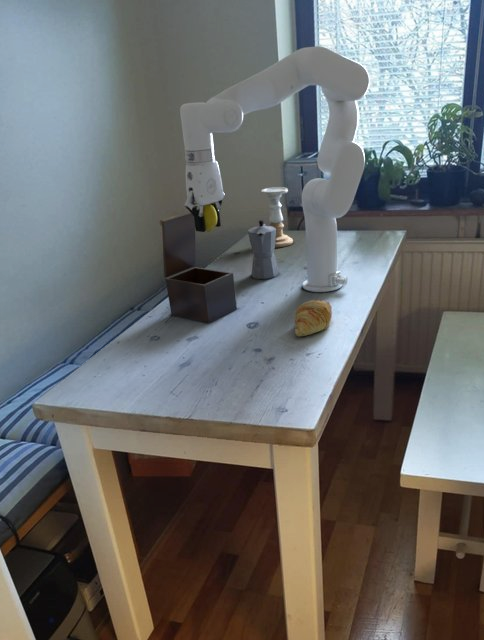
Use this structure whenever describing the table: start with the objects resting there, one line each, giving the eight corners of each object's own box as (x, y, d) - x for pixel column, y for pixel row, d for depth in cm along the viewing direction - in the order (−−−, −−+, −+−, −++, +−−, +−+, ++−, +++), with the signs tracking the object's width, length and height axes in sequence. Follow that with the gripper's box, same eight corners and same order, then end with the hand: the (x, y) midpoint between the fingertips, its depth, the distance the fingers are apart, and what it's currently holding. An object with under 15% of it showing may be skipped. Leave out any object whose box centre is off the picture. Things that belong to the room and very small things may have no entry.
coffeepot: (277, 280, 201) (274, 224, 191) (249, 281, 202) (244, 225, 192) (280, 266, 214) (277, 213, 204) (253, 268, 214) (249, 215, 205)
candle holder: (264, 240, 247) (260, 187, 236) (294, 239, 245) (292, 185, 234) (260, 248, 237) (255, 193, 226) (291, 247, 235) (288, 191, 224)
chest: (236, 309, 180) (233, 272, 174) (209, 323, 172) (204, 285, 166) (199, 301, 188) (194, 266, 182) (171, 314, 179) (165, 278, 174)
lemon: (221, 229, 169) (218, 199, 165) (213, 234, 165) (210, 203, 161) (204, 229, 171) (200, 199, 167) (195, 234, 167) (191, 203, 163)
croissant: (309, 353, 157) (321, 329, 152) (276, 333, 158) (288, 308, 153) (335, 322, 173) (348, 299, 168) (306, 304, 174) (317, 281, 169)
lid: (195, 212, 172) (182, 207, 174) (163, 221, 163) (150, 217, 165) (195, 265, 182) (183, 261, 184) (166, 277, 173) (153, 272, 175)
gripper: (188, 162, 150) (197, 237, 160) (232, 152, 162) (238, 223, 171) (166, 161, 154) (177, 234, 164) (211, 152, 166) (218, 221, 175)
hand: (208, 228), depth 168 cm, fingers closed on lemon, 5 cm apart
